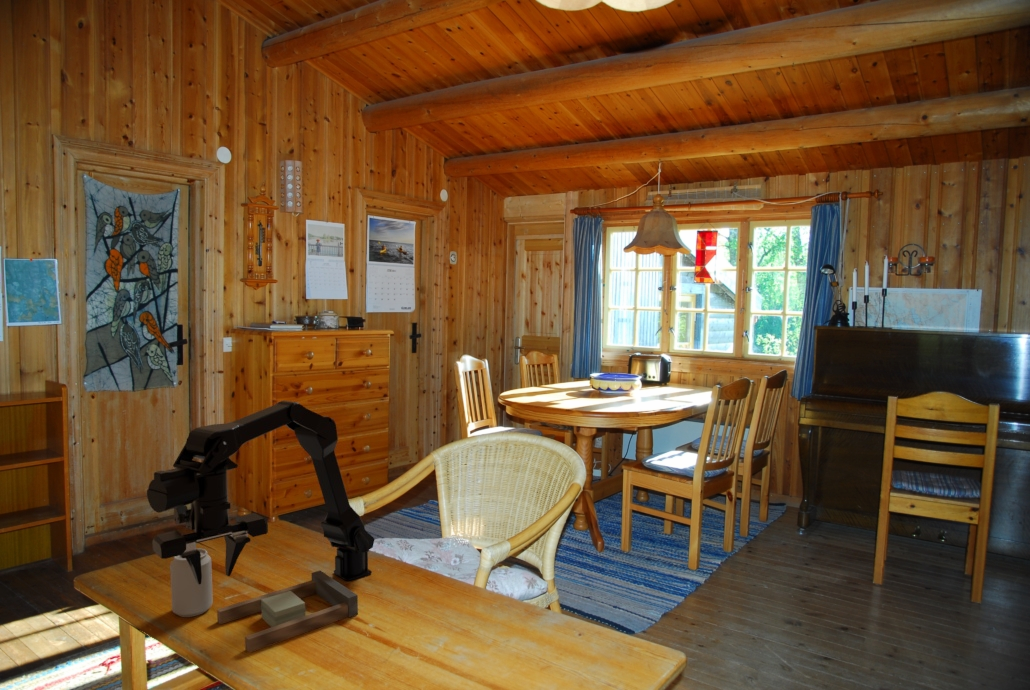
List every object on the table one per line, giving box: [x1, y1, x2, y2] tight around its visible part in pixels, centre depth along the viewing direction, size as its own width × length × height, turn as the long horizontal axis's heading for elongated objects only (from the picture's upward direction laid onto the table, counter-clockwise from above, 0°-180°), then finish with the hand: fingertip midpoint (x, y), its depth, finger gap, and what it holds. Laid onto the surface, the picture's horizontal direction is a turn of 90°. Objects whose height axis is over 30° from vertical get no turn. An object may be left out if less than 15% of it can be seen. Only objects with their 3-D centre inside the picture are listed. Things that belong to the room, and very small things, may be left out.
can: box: [169, 547, 214, 618], centre depth 140 cm, size 8×8×12 cm
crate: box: [260, 591, 306, 628], centre depth 137 cm, size 6×7×4 cm
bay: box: [216, 570, 359, 654], centre depth 137 cm, size 22×16×4 cm
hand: (213, 579), depth 127 cm, fingers open, 5 cm apart
